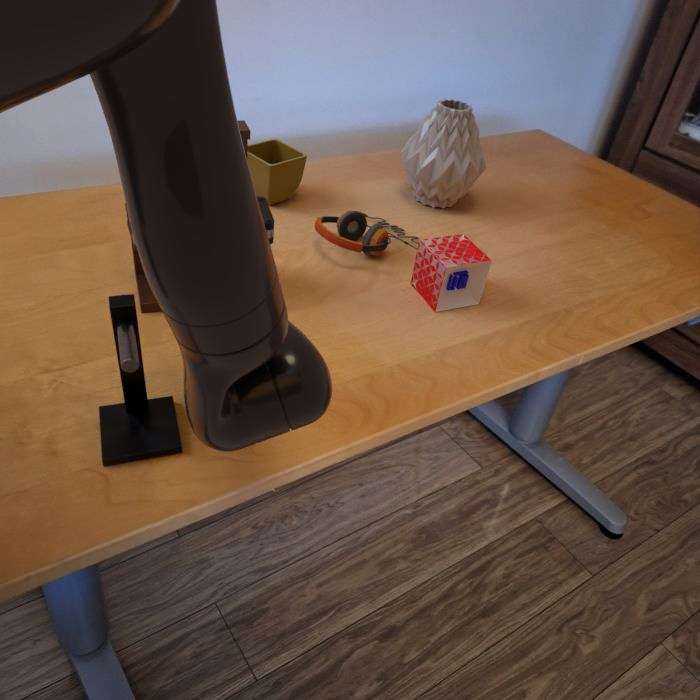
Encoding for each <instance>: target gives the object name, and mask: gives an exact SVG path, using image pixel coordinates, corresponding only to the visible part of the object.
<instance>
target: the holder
mask: <svg viewBox="0 0 700 700" xmlns="http://www.w3.org/2000/svg"><path fill="white" fill-rule="evenodd" d="M108 306H109V308H108V309H109V313H110V319H111V326H112V332H113V333H112V334H113V338H114V345H115V350H116V357H117V363H118V370H119V375H120V377H119V378H120V384H121V389H122V395H123V401H124V402H121V403H120V402H119V403H113V404H107V405H99V406H98V415H99V416H98V418H99V432H100V449H101V451H100V452H101V462H102V466H103V467H109V466H115V465H119V464H125V463H130V462H136V461H142V460H143V461H144V460H149V459H154V458H160V457H165V456H171V455H177V454H182V453H183V445H182V439H181V434H180V428H179V423H178V418H177V412H176V406H175V401H174V396H173V395H168V396H161V397H155V398H148V392H147V383H146V376H145V368H144V359H143V353H142V344H141V337H140V331H139V321H138V312H137V306H136V298H135V294H134V293H130V294H128V293H127V294H120V295H119V294H118V295H109V296H108Z"/></svg>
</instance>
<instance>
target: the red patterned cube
mask: <svg viewBox="0 0 700 700" xmlns="http://www.w3.org/2000/svg"><path fill="white" fill-rule="evenodd" d="M418 243H419V244H417V245H418V246H417V248H418V250H417V249H416V250H417V251H416V255H415V260H414V266H413V269H412V274H411V279H410V285H411V286H412V287H413V289H414V290H415V291H416V292H417V293H418V294H419V295H420V297H421V298H422V299H423V300H424V301H425V302H426V303H427V305H428V306H429V307H430V308H431V309H432V310H433V311H434V312H435V313H439V312H443V311H449V310H455V309H461V308H466V307H470V306H477V305H480V303H481V299H482V295H483V292H484V289H485V285H486V283H487V282H486V281H487V279H488V277H489V276H488V275H489V272H490V269H491V265H492V262H493V260H492V259H491V258H490V257H489V256H488V255H487V254H486V253H485V252H484V251H483V250H482V249H481V248H479V247H478V246H477V245H476V244H475V243H474V242H473V241H472V240H471V239H470V238H469V237H468V236H467V235H465V234H464V233H463V234H462V233H461V234H454V235H446V236H439V237H437V236H436V237H431V238H422V239H419V241H418Z"/></svg>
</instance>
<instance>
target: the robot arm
mask: <svg viewBox="0 0 700 700" xmlns="http://www.w3.org/2000/svg"><path fill="white" fill-rule="evenodd" d="M221 31H222V30H221V23H220V18H219V10H218V4H217V0H0V114H3V113H4V112H7V111H8V110H11V109H13V108H15V107H18V106H20V105H22V104H24V103H27V102H29V101H31V100H33V99H36V98H38V97H40V96H43V95H45V94H47V93H50V92H52V91H54V90H57V89H59V88H61V87H64V86H66V85H69V84H70V83H73V82H74V81H77V80H79V79H82V78H85V77H86V76H88V75H89V77H90V80H91V82H92V84H93V88H94V90H95V93H96V95H97V98H98V101H99V104H100V107H101V110H102V113H103V115H104V118H105V122H106V124H107V128H108V132H109V136H110V139H111V142H112V147H113V151H114V155H115V160H116V163H117V167H118V172H119V177H120V182H121V186H122V191H123V195H124V196H123V197H124V200H125V203H124V206H125V207H124V208H125V213H126V224H127V229H128V232H129V235H130V240H131V239H132V242H131V244H132V243H133V246H134V250H135V251H136V252H138V253H139V257H140V260H141V263H142V267H143V270H144V272H145V275H146V278H147V281H148V283H149V285H150V288H151V290H152V292H153V294H154V296H155V298H156V300H157V302H158V304H159V306H160V308H161V310H162V311H161V312H162V314H163V316H164V318H165V320H166V322H167V324H168V326H169V328H170V330H171V332H172V335H173V336H174V338H175V340H176V342H177V345H178V347H179V350H180V354H181V357H182V364H183V397H184V398H183V399H184V407H185V413H186V416H187V420H188V424H189V426H190V429H191V430H192V432H193V433H194V435H195V436H196V438H197V439H198V440H199V441H200V442H201V443H202V444H203V445H205V446H207V447H208V448H210V449H213V450H215V451H219V452H224V453H228V452H236V451H240V450H244V449H246V448H248V447H251V446H254V445H257V444H259V443H263V442H265V441H268V440H271V439H273V438H276V437H278V436H281V435H284V434H287V433H290V432H292V431H293V432H294V431H295V430H299V429H301V428H303V427H306V426H309V425H312V424H313V423H315V422H317V421H319V420H320V419H321V418H322V417H323V416H324V415H325V414H326V412H327V411H328V408H329V406H330V404H331V401H332V397H333V381H332V380H333V379H332V376H331V372H330V370H329V367H328V364H327V363H326V361H325V359H324V357H323V356H322V354H321V352H320V351H319V349H318V348H317V347H316V345H315V344H314V343H313V342H312V341H311V340H310V339H309V338H308V337H307V336H306V334H305V333H304V332H303V331H302V330H301V329H300V328H298V327H297V326H296V325H294V323H292V321H290V320H289V315H288V309H287V304H286V300H285V297H284V293H283V289H282V285H281V281H280V277H279V273H278V269H277V265H276V261H275V258H274V254H273V250H272V247H271V245H273V244H274V235H275V218H274V216H273V213H272V211H271V208H270V205H269V204H268V203H267V200H266V198H265V197H261V196H259V197H257V195H256V192H255V188H254V184H253V181H252V177H251V173H250V169H249V166H248V162H247V158H246V154H245V150H244V146H243V142H242V138H241V134H240V130H239V126H238V121H239V120H238V118H237V114H236V109H235V104H234V98H233V94H232V89H231V84H230V83H231V82H230V78H229V72H228V68H227V67H228V66H227V61H226V57H225V49H224V44H223V38H222V37H223V36H222V32H221Z"/></svg>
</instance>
